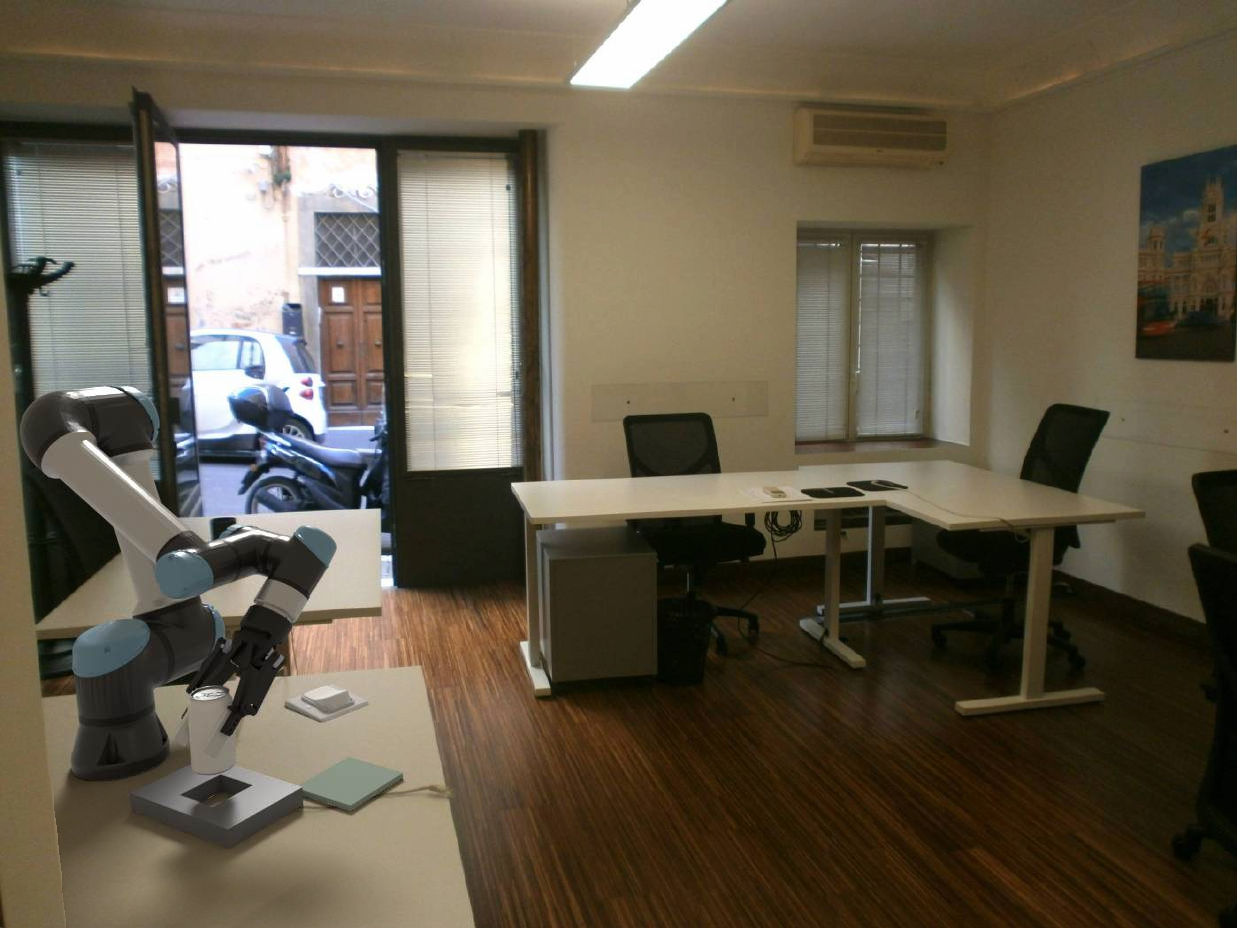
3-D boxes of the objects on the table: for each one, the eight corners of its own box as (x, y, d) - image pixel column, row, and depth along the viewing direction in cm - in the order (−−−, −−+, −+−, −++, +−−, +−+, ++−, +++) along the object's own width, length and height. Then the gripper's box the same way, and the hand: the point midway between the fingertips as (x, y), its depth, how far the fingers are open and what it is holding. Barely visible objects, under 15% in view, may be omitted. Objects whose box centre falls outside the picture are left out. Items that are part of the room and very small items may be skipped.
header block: (131, 810, 149) (130, 792, 149) (208, 772, 162) (207, 755, 161) (229, 848, 139) (227, 829, 138) (303, 804, 151) (302, 786, 151)
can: (194, 759, 151) (189, 686, 149) (238, 754, 153) (234, 682, 151) (189, 778, 145) (183, 703, 143) (235, 773, 147) (230, 698, 145)
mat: (294, 793, 155) (294, 787, 155) (349, 762, 165) (348, 756, 165) (350, 811, 149) (350, 805, 149) (403, 778, 159) (402, 772, 159)
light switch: (322, 708, 180) (283, 688, 188) (322, 729, 181) (283, 708, 189) (370, 690, 188) (330, 671, 196) (370, 710, 189) (331, 690, 197)
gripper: (329, 635, 155) (252, 772, 143) (245, 615, 164) (167, 743, 153) (302, 612, 149) (220, 754, 138) (217, 593, 158) (134, 724, 147)
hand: (192, 748), depth 145 cm, fingers closed on can, 6 cm apart
